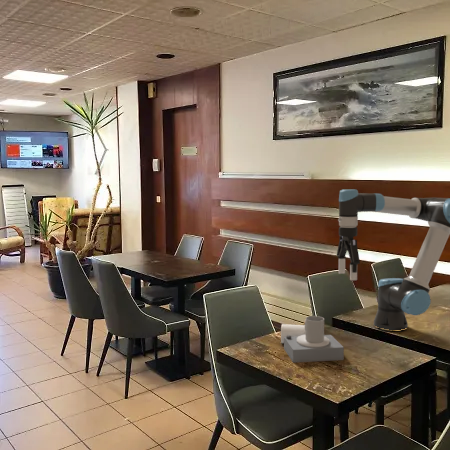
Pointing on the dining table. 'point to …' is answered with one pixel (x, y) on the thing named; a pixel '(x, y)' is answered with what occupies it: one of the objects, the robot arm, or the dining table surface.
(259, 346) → the dining table surface
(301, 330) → the white rounded block
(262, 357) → the dining table surface
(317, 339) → the cup
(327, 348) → the square base with disc
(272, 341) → the dining table surface
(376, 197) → the robot arm
